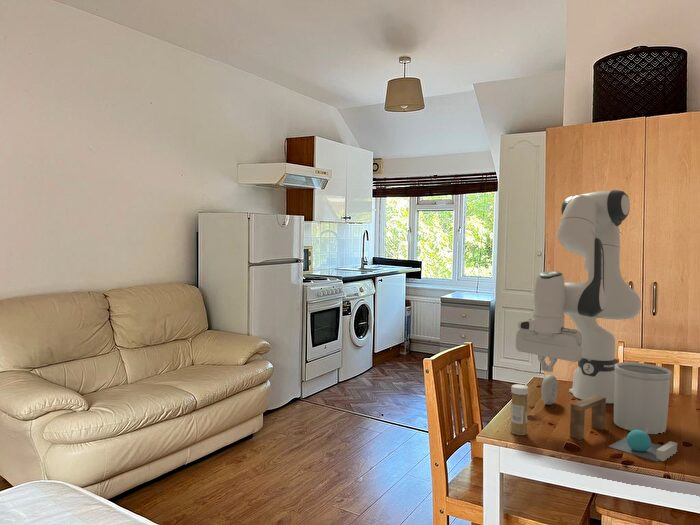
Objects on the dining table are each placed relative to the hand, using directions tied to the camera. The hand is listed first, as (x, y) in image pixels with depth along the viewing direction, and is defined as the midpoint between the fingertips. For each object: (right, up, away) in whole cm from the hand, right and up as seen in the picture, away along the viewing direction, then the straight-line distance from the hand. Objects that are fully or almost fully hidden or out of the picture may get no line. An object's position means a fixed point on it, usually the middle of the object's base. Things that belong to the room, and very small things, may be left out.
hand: (547, 371), depth 160 cm
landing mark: (+17, -16, -21) cm, 31 cm away
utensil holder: (+26, -16, -3) cm, 31 cm away
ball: (+16, -14, -22) cm, 30 cm away
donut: (+7, -15, +17) cm, 24 cm away
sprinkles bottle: (-12, -16, -10) cm, 22 cm away
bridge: (+8, -16, -9) cm, 20 cm away
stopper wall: (+21, -17, -25) cm, 37 cm away
